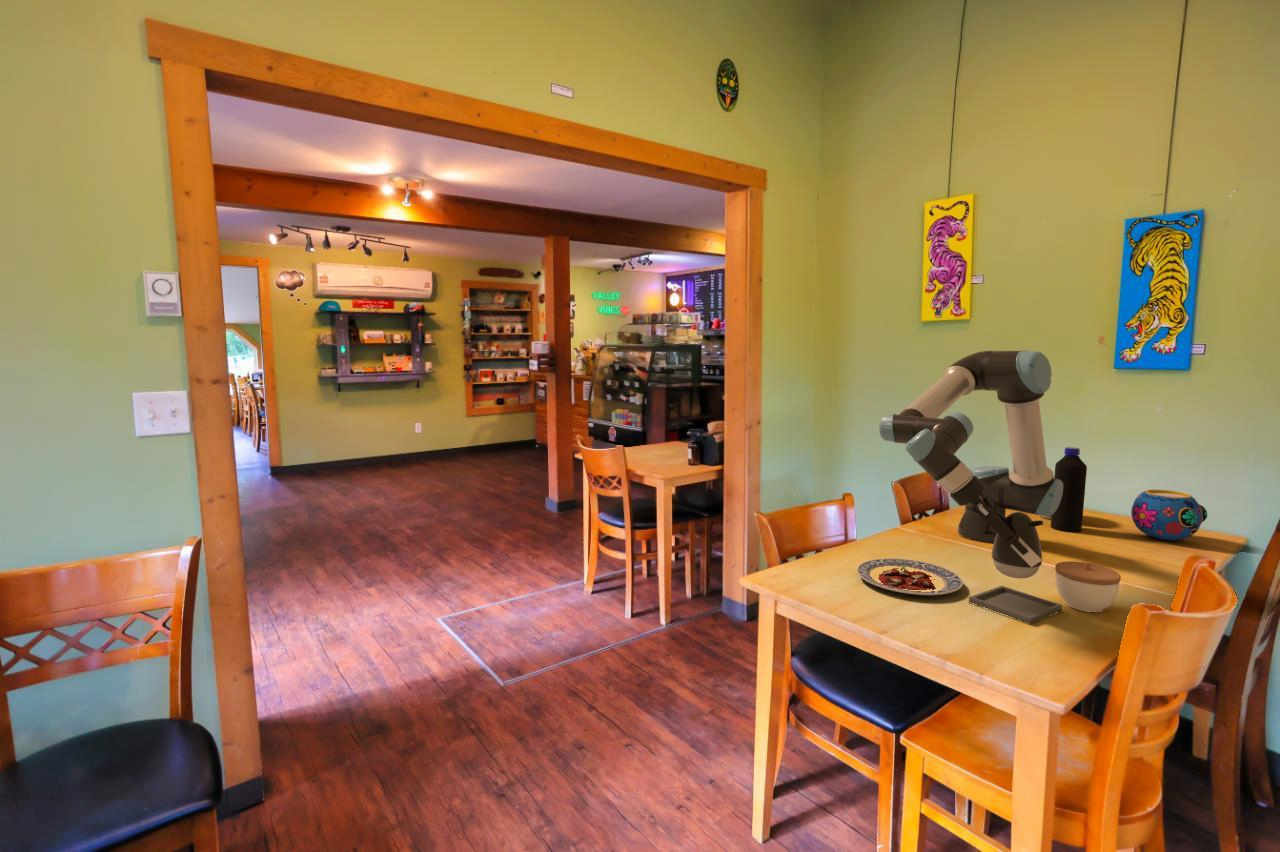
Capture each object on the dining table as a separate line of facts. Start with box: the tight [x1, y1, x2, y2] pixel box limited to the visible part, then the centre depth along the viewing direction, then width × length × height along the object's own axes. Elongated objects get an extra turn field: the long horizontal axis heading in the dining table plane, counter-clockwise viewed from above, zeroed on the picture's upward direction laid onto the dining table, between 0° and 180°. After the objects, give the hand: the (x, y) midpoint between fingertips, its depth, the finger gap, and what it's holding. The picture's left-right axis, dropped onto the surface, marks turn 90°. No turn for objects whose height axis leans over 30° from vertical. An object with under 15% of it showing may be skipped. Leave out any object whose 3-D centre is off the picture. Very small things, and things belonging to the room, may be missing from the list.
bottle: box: [1050, 446, 1088, 533], centre depth 210 cm, size 9×9×28 cm
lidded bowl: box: [1054, 561, 1122, 614], centre depth 148 cm, size 13×13×11 cm
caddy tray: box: [968, 585, 1063, 625], centre depth 148 cm, size 14×14×2 cm
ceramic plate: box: [856, 558, 964, 596], centre depth 164 cm, size 26×26×3 cm
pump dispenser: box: [991, 511, 1044, 580], centre depth 146 cm, size 10×10×15 cm
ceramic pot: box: [1130, 489, 1208, 542], centre depth 200 cm, size 18×18×15 cm
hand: (1032, 556), depth 145 cm, fingers closed on pump dispenser, 10 cm apart
